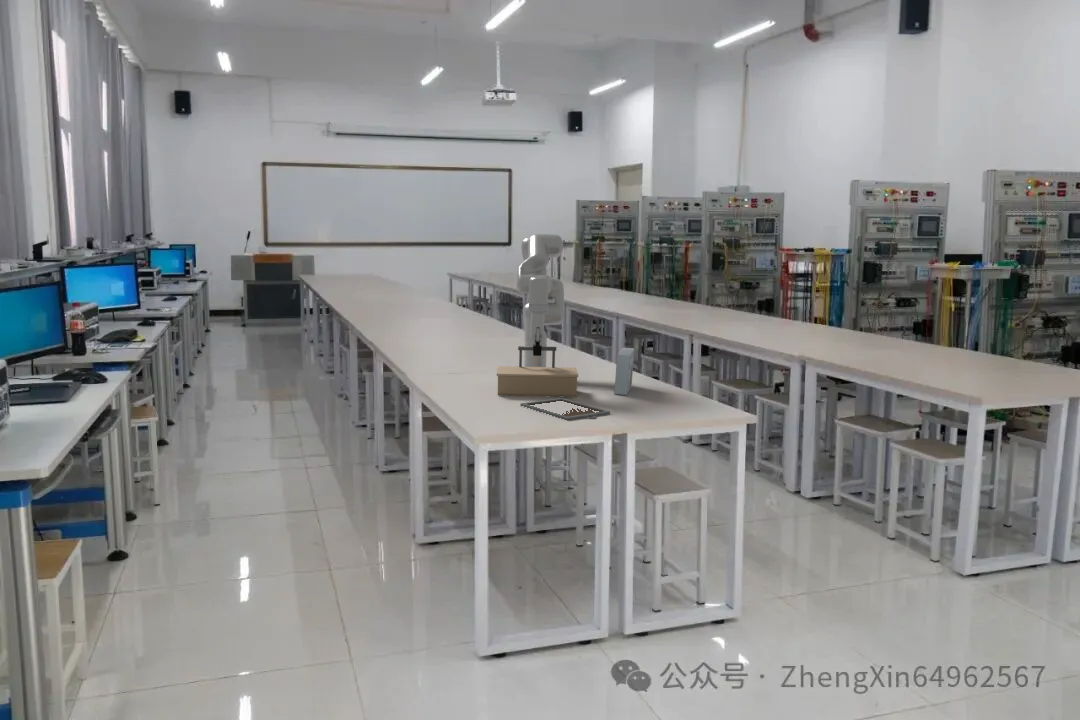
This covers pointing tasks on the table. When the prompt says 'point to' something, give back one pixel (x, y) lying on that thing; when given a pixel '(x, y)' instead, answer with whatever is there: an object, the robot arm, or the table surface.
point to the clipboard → (571, 415)
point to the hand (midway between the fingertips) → (537, 354)
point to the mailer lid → (537, 371)
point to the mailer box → (537, 386)
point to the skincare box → (624, 371)
